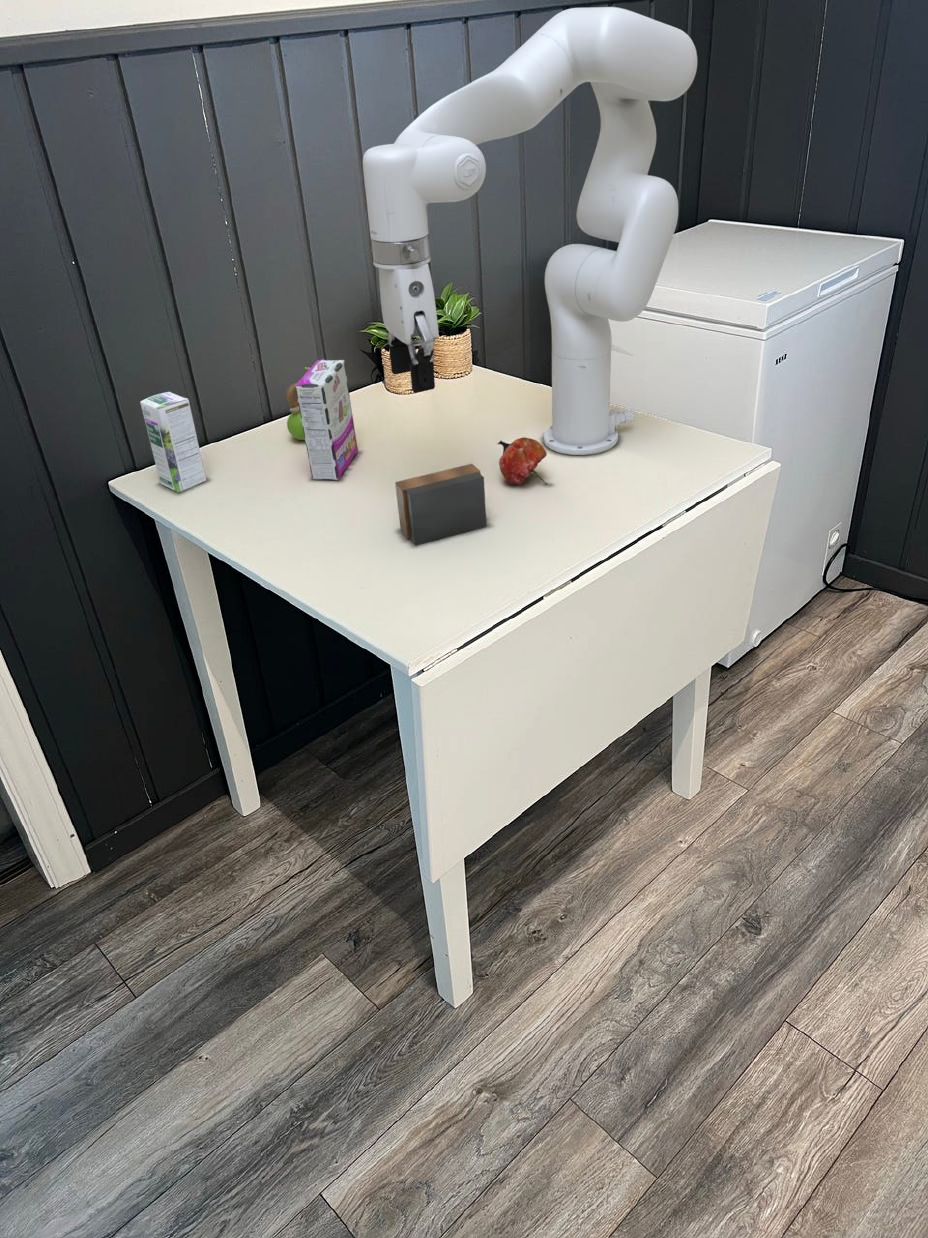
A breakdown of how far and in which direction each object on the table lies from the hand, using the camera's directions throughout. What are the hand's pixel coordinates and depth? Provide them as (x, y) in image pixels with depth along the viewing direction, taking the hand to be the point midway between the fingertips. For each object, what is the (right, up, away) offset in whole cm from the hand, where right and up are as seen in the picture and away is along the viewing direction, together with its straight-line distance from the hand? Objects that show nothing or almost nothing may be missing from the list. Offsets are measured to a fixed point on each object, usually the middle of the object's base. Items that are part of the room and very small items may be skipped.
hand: (413, 380), depth 133 cm
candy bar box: (-14, -8, +25) cm, 30 cm away
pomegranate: (+17, -12, +16) cm, 26 cm away
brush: (+4, -20, +5) cm, 22 cm away
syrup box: (-39, -11, +24) cm, 47 cm away
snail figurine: (-21, -1, +36) cm, 41 cm away
